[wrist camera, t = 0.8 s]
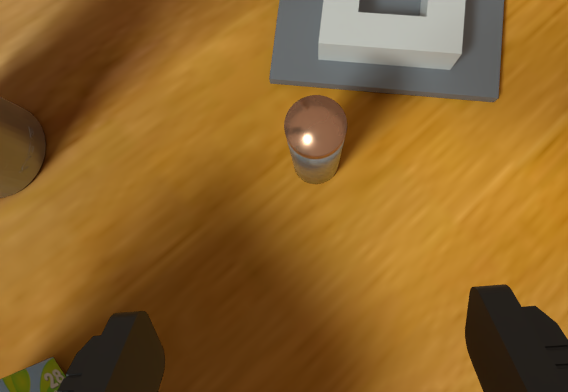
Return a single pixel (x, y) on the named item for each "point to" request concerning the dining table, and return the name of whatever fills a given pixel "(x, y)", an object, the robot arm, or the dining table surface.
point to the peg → (315, 137)
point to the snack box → (34, 378)
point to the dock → (384, 78)
